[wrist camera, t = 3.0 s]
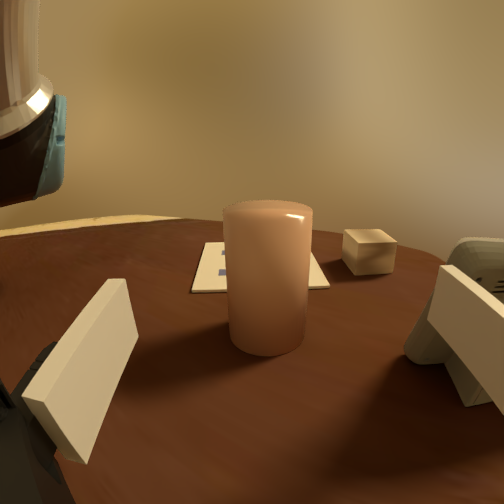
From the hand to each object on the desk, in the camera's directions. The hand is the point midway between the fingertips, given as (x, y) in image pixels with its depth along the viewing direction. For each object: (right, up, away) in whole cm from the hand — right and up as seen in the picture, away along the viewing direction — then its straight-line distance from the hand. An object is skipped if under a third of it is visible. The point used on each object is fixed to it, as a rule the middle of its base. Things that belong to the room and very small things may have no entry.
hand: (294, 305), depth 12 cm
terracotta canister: (0, -4, +13) cm, 13 cm away
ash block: (+12, 0, +24) cm, 27 cm away
